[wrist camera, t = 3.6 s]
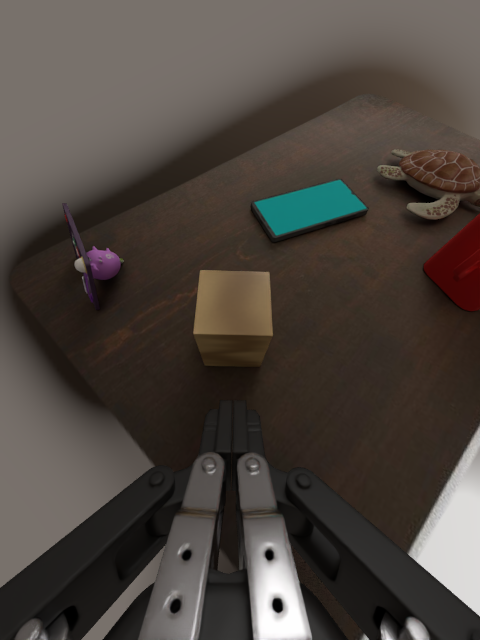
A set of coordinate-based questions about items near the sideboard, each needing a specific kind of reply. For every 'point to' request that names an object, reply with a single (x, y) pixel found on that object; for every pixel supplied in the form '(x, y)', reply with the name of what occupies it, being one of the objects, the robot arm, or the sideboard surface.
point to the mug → (459, 267)
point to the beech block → (233, 317)
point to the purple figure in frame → (92, 261)
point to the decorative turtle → (436, 180)
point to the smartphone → (307, 209)
